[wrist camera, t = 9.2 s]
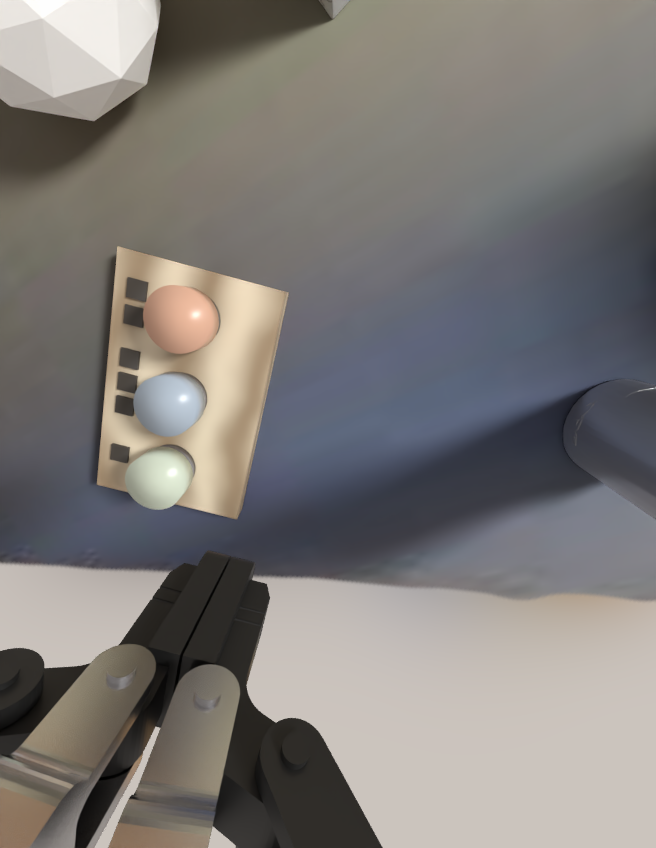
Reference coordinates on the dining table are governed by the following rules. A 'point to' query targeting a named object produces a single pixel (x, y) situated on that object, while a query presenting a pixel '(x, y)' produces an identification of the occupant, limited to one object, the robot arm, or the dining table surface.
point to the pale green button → (159, 478)
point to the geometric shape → (75, 53)
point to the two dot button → (180, 319)
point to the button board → (210, 367)
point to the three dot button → (169, 403)
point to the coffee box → (333, 6)
